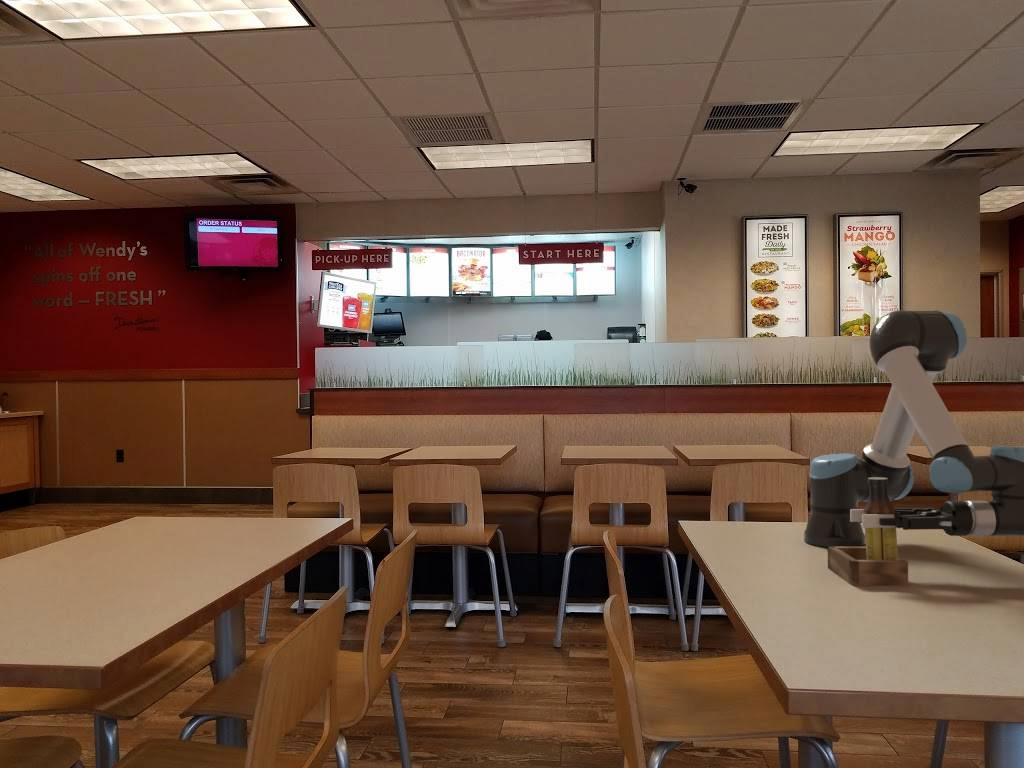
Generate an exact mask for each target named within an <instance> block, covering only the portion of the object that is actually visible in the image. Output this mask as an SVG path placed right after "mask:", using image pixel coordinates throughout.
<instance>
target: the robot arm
mask: <svg viewBox="0 0 1024 768" xmlns="http://www.w3.org/2000/svg"><path fill="white" fill-rule="evenodd" d="M871 329H872V330H871V332H870V336H869V350H870V354H871V357H872V360H873V362H874V363H875V364H874V365H876V368H877V369H878V370H879V371H880V372H882V373H885V374H886V376H887V378H888V380H889V382H890V383H891V387H890V390H889V392H888V393H889V394H888V397H887V399H886V402H885V405H884V408H883V410H882V414H881V415H880V419H879V422H878V425H877V428H876V431H875V434H874V436H873V441H872V443H869V444H866V445H865V446H864V447H863V450H862V453H861V455H860V458H858V456H857V455H856V454H853V453H830V454H824V455H820V456H816V457H814V458H813V459H812V460H811V462H810V468H809V477H810V478H809V479H810V482H809V483H810V514H809V517H808V521H807V523H806V527H805V530H804V533H803V541H804V542H805V543H807V544H810V545H813V546H817V547H825V548H828V546H846V547H866V538H865V532H864V530H863V528H864V529H865V528H895V526H896V529H902V530H904V531H907V530H909V531H910V530H912V531H915V530H943V531H944V533H945V534H946V535H949V536H951V537H958V536H959V537H965V536H976V537H977V538H978V539H983V536H995V537H997V536H999V537H1002V536H1003V537H1024V446H1022V445H995V446H994V445H993V446H991V449H990V453H989V455H974V453H973V452H972V450H971V448H970V446H969V445H968V443H967V442H966V440H965V438H964V436H963V434H962V433H961V431H960V429H959V428H958V426H957V424H956V422H955V420H954V419H953V417H952V416H951V414H950V412H949V410H948V409H947V406H946V405H945V403H944V401H943V399H942V398H941V396H940V394H939V392H938V391H937V389H936V387H935V385H934V380H935V378H936V375H938V374H940V373H942V372H944V371H946V367H947V364H949V363H948V362H949V360H952V359H955V358H956V357H958V356H960V355H962V354H963V352H964V350H965V349H966V347H967V341H968V335H967V334H968V333H967V329H966V328H965V324H964V322H963V321H962V320H961V319H960V317H959V316H958V315H956V314H955V313H953V312H949V311H942V310H941V311H940V310H937V309H936V310H904V309H903V310H901V309H900V310H893V311H891V312H888V313H886V314H884V315H882V316H881V317H880V318H879V319H878V320H877V321H876V323H874V325H873V327H872V328H871ZM916 431H917V433H918V435H919V437H920V438H921V441H922V443H923V444H924V445H925V447H926V449H927V451H928V453H929V455H930V456H931V458H932V462H931V463H930V465H929V468H928V469H929V470H928V473H929V476H930V477H929V479H930V482H931V484H932V486H933V487H934V488H935V489H937V490H938V491H940V492H942V493H953V494H954V493H955V494H965V493H972V492H973V493H974V492H990V494H991V495H990V496H991V500H965V501H964V500H947V501H944V502H943V503H942V505H941V506H940V509H936V508H935V507H926V508H925V507H894V509H895V518H894V515H893V514H865V511H864V508H860V509H859V507H858V506H859V505H858V504H859V503H867V502H868V500H869V485H868V478H871V477H883V478H888V498H889V500H890V502H892V501H895V500H900V499H903V498H904V497H906V496H907V495H908V494H909V493H910V491H911V490H912V488H913V485H914V482H915V475H913V473H914V469H913V466H912V465H911V460H910V458H909V456H908V455H907V454H908V451H909V448H910V446H911V442H912V440H913V437H914V435H915V432H916Z"/></svg>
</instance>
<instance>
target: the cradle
mask: <svg viewBox="0 0 1024 768" xmlns="http://www.w3.org/2000/svg"><path fill="white" fill-rule="evenodd" d="M827 569H828V570H830V571H831V572H833V573H834V574H835V575H837V576H838V577H840V578H841V579H842V580H843V581H845V582H847V583H849V584H850V586H907V587H908V586H909V561H907V560H905V559H898V560H867V557H866V546H862V547H846V546H828V547H827Z"/></svg>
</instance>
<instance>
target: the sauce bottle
mask: <svg viewBox="0 0 1024 768" xmlns="http://www.w3.org/2000/svg"><path fill="white" fill-rule="evenodd" d="M868 485H869V500H868V502H865V505H864V508H863V509H864V511H865V514H893V515H894V518H895V509H894V508H895V507H894V505H893V503H892V501H890V500H889V498H888V478H883V477H871V478H868ZM864 534H865V540H866V544H865V547H866V557H867V560H899V555H898V554H899V553H898V538H897V536H898V535H897V528H896V526H895V528H864Z"/></svg>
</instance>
